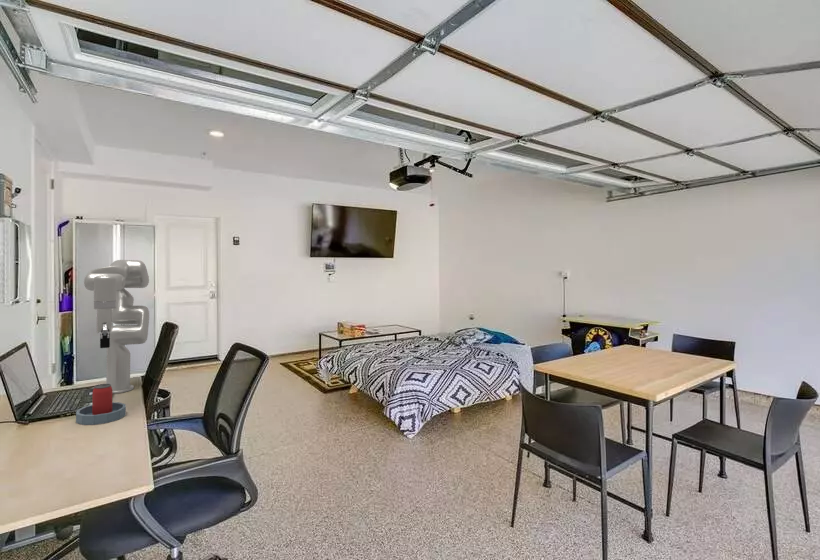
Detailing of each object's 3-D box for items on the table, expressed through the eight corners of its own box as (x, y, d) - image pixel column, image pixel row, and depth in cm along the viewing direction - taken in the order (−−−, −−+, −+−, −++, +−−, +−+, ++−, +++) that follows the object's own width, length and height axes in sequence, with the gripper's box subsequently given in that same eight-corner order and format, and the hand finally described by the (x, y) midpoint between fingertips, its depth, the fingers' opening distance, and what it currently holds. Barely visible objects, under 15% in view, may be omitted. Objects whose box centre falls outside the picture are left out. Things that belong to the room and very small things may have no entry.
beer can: (116, 412, 174) (116, 383, 173) (103, 418, 167) (103, 388, 167) (101, 411, 174) (102, 382, 174) (87, 417, 168) (88, 387, 167)
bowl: (77, 414, 172) (77, 406, 172) (124, 408, 181) (125, 400, 181) (74, 427, 159) (74, 418, 159) (126, 419, 168) (126, 411, 168)
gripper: (94, 302, 181) (94, 341, 183) (93, 308, 167) (93, 350, 169) (115, 301, 186) (115, 340, 187) (116, 307, 172) (116, 349, 173)
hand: (105, 345), depth 178 cm, fingers open, 9 cm apart
